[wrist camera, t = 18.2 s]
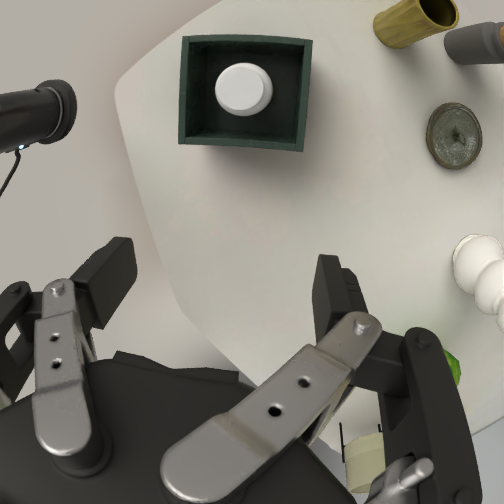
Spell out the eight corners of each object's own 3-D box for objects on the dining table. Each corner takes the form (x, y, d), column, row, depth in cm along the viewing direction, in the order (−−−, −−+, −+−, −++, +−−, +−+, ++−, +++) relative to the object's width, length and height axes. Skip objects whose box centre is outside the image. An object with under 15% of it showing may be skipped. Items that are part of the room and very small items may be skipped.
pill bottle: (217, 85, 35) (196, 81, 25) (256, 61, 33) (248, 47, 23) (243, 121, 37) (231, 129, 28) (282, 98, 35) (284, 96, 26)
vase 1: (371, 42, 30) (413, 20, 18) (373, 6, 27) (411, -27, 15) (410, 53, 30) (463, 41, 17) (411, 18, 27) (461, -4, 14)
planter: (338, 411, 69) (344, 486, 49) (394, 399, 66) (409, 472, 46) (340, 433, 76) (344, 497, 56) (389, 422, 73) (400, 486, 53)
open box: (200, 133, 39) (178, 144, 31) (204, 49, 33) (182, 36, 24) (297, 140, 39) (302, 152, 30) (304, 53, 32) (312, 39, 24)
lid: (476, 127, 34) (494, 124, 30) (464, 180, 37) (482, 182, 32) (429, 94, 34) (445, 87, 29) (414, 150, 36) (431, 148, 32)
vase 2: (442, 282, 47) (501, 384, 26) (446, 231, 42) (528, 328, 21) (484, 271, 45) (548, 358, 23) (491, 221, 40) (575, 303, 19)
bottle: (475, 45, 26) (536, 40, 13) (467, 72, 29) (530, 73, 16) (448, 23, 26) (506, 8, 13) (439, 50, 29) (499, 41, 16)
